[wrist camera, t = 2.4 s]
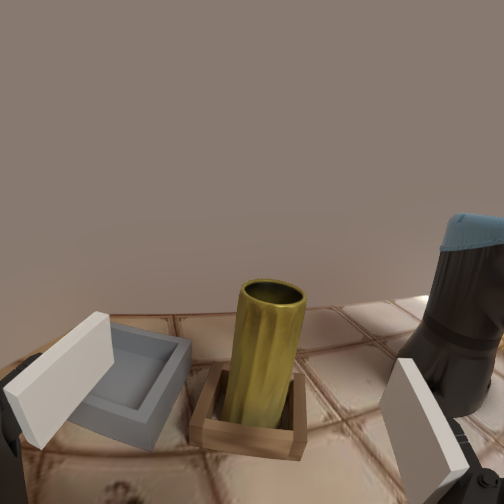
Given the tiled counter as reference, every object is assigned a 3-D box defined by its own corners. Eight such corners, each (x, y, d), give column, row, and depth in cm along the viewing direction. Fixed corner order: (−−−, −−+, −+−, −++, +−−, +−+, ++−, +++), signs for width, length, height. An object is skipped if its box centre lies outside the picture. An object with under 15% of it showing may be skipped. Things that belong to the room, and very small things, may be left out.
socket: (299, 393, 32) (304, 373, 32) (300, 461, 23) (307, 441, 22) (212, 381, 33) (213, 361, 32) (189, 444, 24) (188, 424, 23)
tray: (191, 367, 35) (192, 339, 34) (151, 451, 22) (145, 423, 21) (94, 342, 36) (90, 316, 35) (33, 403, 23) (22, 373, 22)
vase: (211, 430, 26) (224, 296, 22) (230, 393, 31) (246, 271, 28) (274, 446, 24) (310, 315, 21) (285, 406, 30) (314, 285, 26)
